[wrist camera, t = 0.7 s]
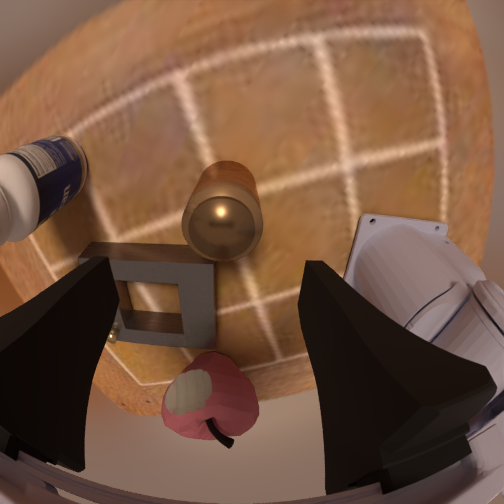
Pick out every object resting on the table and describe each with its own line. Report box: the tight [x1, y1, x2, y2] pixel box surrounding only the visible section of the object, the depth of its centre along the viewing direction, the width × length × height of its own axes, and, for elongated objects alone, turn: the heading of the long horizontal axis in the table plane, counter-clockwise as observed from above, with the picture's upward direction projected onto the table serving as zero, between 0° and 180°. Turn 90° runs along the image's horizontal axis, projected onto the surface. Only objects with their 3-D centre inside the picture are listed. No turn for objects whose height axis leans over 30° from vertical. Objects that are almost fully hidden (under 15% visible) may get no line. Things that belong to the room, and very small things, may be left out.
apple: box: [161, 352, 259, 448], centre depth 24 cm, size 10×9×10 cm
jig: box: [78, 242, 217, 349], centre depth 21 cm, size 11×9×4 cm
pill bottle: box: [0, 135, 87, 246], centre depth 13 cm, size 5×5×10 cm
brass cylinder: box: [182, 161, 263, 261], centre depth 16 cm, size 4×4×6 cm
